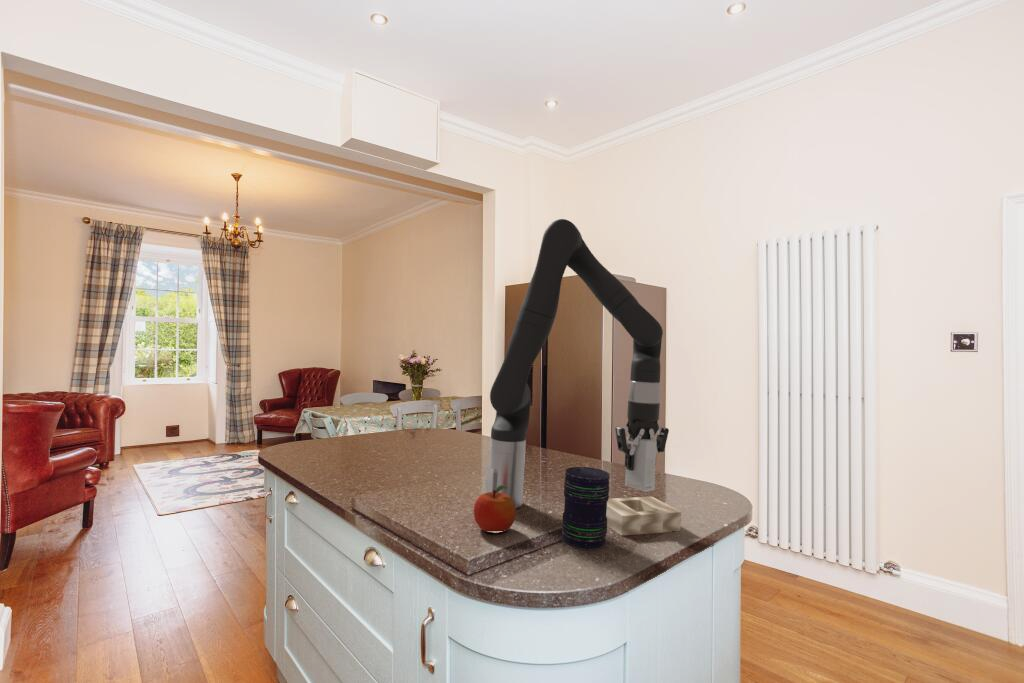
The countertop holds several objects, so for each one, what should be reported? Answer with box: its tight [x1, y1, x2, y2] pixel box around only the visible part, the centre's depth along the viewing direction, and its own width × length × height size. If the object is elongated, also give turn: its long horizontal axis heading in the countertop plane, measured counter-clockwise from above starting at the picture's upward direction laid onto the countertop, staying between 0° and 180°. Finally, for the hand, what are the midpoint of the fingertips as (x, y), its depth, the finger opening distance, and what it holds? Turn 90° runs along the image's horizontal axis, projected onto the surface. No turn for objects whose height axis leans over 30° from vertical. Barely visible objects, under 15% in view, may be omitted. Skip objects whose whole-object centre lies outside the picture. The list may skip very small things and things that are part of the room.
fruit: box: [473, 485, 517, 532], centre depth 114 cm, size 10×10×10 cm
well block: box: [606, 496, 682, 536], centre depth 123 cm, size 16×12×4 cm
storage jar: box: [561, 466, 611, 551], centre depth 111 cm, size 10×10×15 cm
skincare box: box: [624, 436, 657, 492], centre depth 123 cm, size 6×4×12 cm
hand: (640, 469), depth 123 cm, fingers closed on skincare box, 5 cm apart
